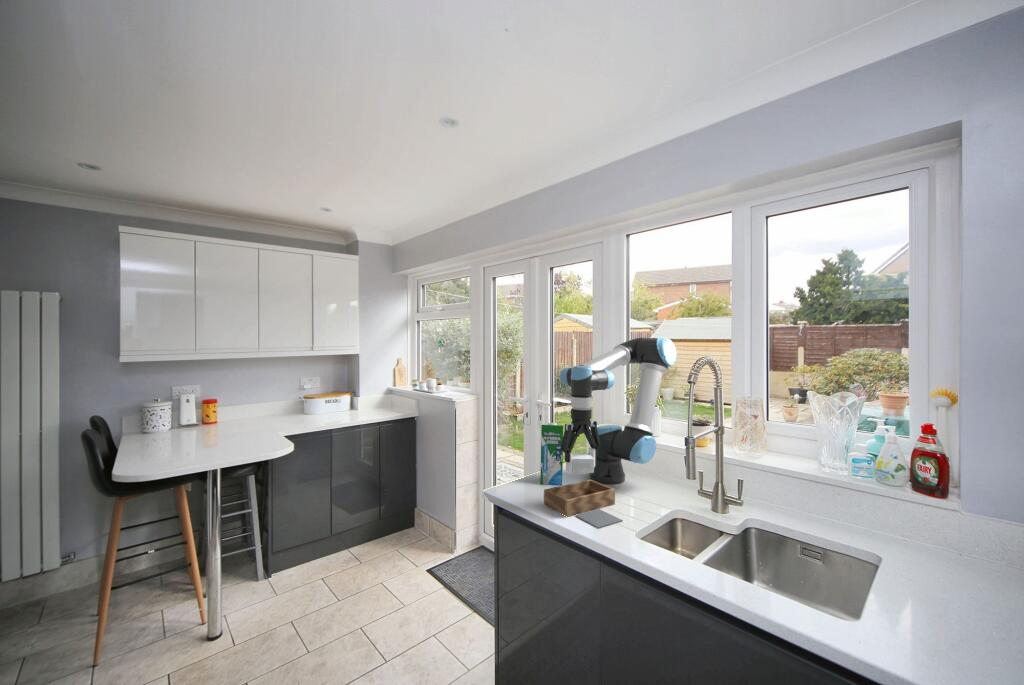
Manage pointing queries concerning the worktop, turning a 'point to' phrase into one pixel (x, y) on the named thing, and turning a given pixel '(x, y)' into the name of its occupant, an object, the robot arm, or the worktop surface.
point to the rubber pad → (599, 518)
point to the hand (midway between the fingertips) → (580, 468)
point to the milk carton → (551, 454)
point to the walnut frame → (579, 497)
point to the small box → (583, 463)
